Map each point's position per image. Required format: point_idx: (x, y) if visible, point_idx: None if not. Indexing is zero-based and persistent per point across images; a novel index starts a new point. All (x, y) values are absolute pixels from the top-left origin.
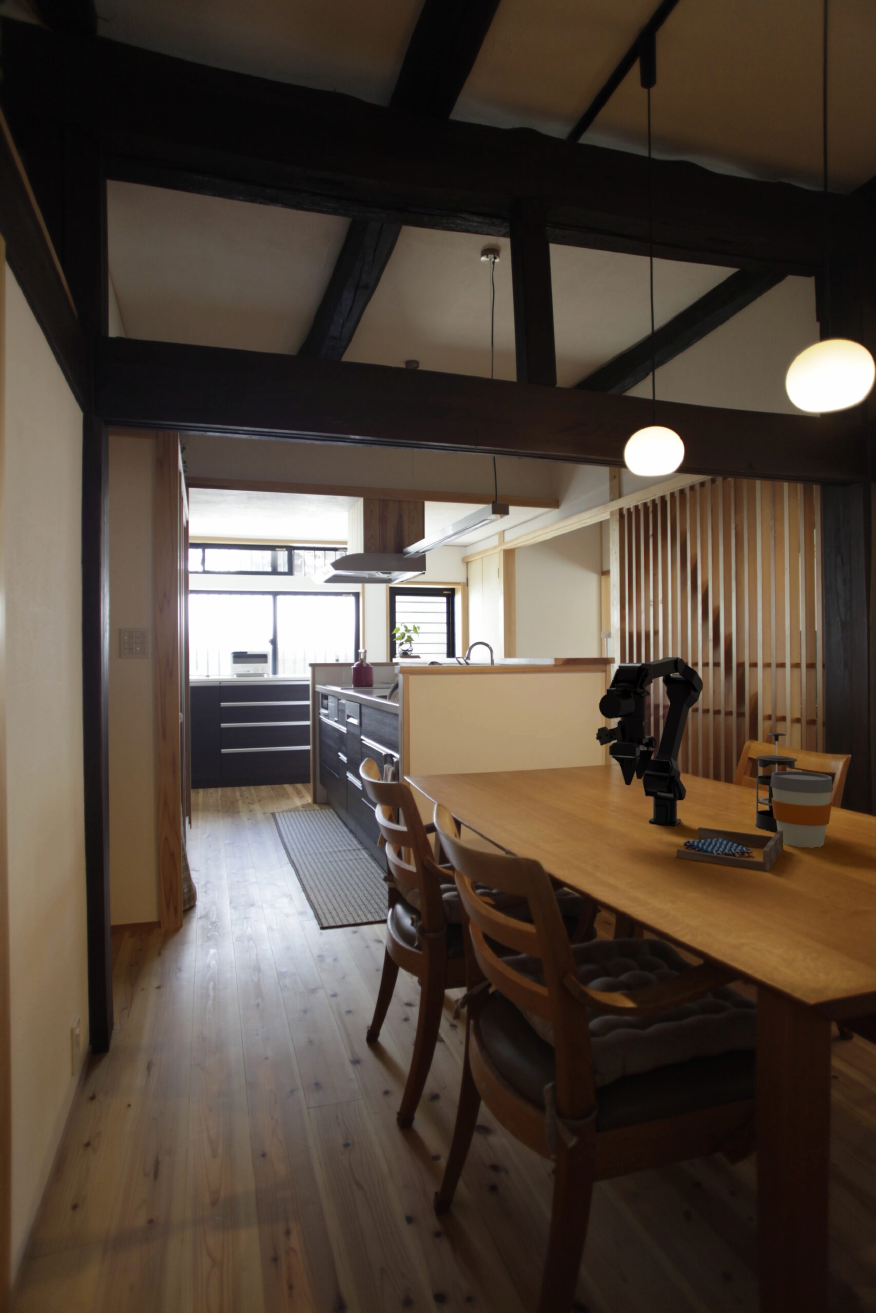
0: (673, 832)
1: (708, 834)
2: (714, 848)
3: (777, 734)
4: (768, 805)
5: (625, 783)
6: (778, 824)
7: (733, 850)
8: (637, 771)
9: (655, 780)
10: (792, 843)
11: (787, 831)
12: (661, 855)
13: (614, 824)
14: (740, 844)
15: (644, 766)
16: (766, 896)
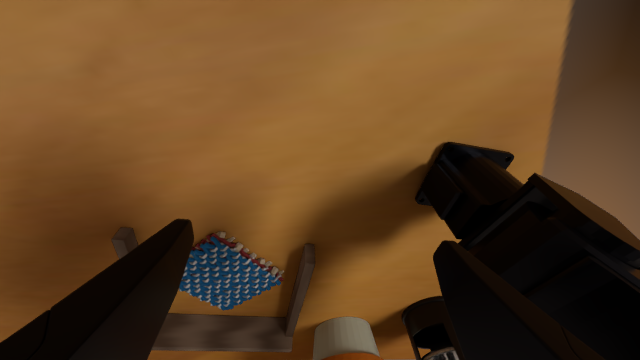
0: (348, 202)
1: (301, 266)
2: (197, 278)
3: None
4: (429, 352)
5: (168, 225)
6: (337, 346)
7: (201, 297)
8: (468, 286)
9: (501, 274)
10: (317, 329)
11: (320, 345)
12: (109, 203)
13: (411, 33)
14: (293, 289)
15: (469, 356)
16: (21, 319)
